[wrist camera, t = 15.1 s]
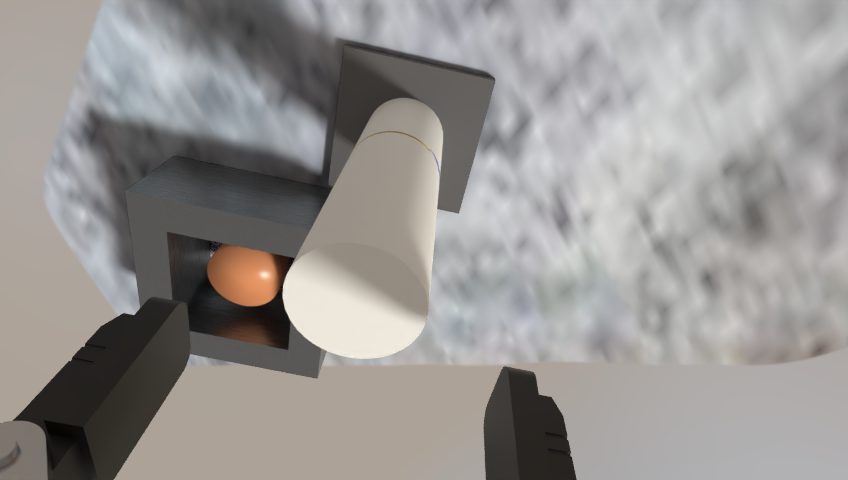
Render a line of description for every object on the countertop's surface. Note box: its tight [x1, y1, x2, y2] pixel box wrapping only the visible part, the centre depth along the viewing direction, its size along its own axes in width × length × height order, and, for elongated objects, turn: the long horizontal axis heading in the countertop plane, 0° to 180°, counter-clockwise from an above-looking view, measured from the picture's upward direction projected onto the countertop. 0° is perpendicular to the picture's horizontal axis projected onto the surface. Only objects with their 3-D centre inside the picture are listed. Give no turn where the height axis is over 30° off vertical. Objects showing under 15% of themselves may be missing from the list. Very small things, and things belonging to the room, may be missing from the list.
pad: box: [328, 44, 495, 213], centre depth 27 cm, size 8×8×1 cm
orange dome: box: [207, 243, 289, 306], centre depth 30 cm, size 4×4×2 cm
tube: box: [283, 98, 443, 359], centre depth 21 cm, size 4×4×15 cm
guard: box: [125, 156, 332, 378], centre depth 30 cm, size 11×11×5 cm
